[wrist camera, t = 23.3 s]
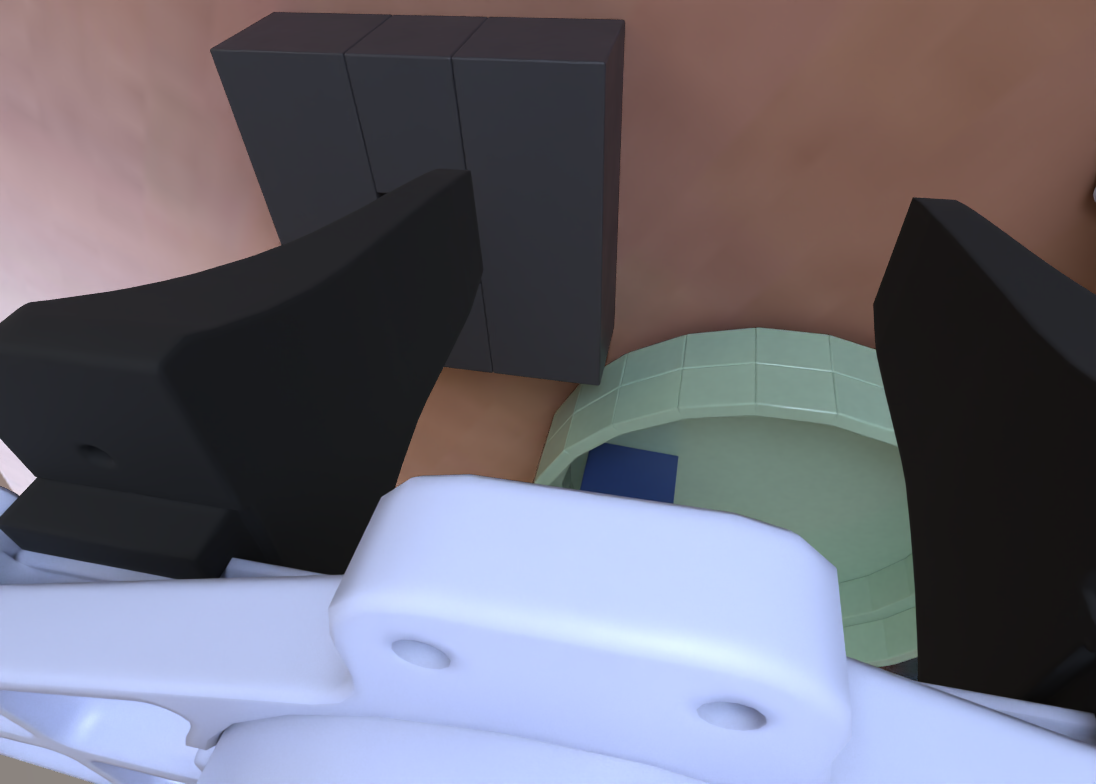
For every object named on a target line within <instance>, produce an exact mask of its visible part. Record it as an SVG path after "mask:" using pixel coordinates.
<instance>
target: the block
mask: <svg viewBox="0 0 1096 784" xmlns="http://www.w3.org/2000/svg"><path fill="white" fill-rule="evenodd" d="M678 458H679V457H678V456H675V455H670V454H664V453H658V452H653V451H647V450H642V449H636V448H631V447H625V446H620V445H614V444H609V443H603V444H602V445H600V446H598V447H596V448H594V449H592V450H590V451H589V453H588V457H587V461H586V466H585V470H584V474H583V478H582V483H581V487H580V490H582V491H589V492H596V493H603V494H610V495H617V496H624V497H630V498H637V499H644V500H651V501H658V502H665V503H672V504H673V503H674V494H675V485H676V476H677V467H678Z"/></svg>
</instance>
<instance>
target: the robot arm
mask: <svg viewBox="0 0 1096 784" xmlns="http://www.w3.org/2000/svg"><path fill="white" fill-rule="evenodd" d="M1093 197H1094V201H1095V202H1096V187H1095V190H1094V193H1093ZM483 270H484V269H483V261H482V253H481V246H480V238H479V230H478V222H477V215H476V207H475V199H474V191H473V183H472V176H471V170H456V169H439V168H438V169H435V170H432V171H430V172H427V173H425V174H423V175H421V176H419V177H417V178H415V179H413V180H411V181H409V182H407V183H405V184H404V185H402V186H400V187H398V188H396V189H394V190H393V191H391V192H389V193H387V194H385V195H384V196H382V197H380V198H378V199H376V200H374V201H373V202H371V203H369V204H367V205H365V206H363V207H362V208H360V209H358V210H356V211H354V212H352V213H350V214H348V215H346V216H344V217H342V218H340V219H338V220H336V221H334V222H332V223H330V224H328V225H326V226H324V227H322V228H320V229H318V230H316V231H314V232H312V233H310V234H307V235H305V236H303V237H301V238H298V239H296V240H293V241H291V242H289V243H286V244H284V245H281V246H278V247H276V248H273V249H271V250H268V251H265V252H263V253H260V254H257V255H254V256H251V257H249V258H245V259H242V260H239V261H235V262H232V263H229V264H225V265H222V266H218V267H215V268H212V269H208V270H205V271H202V272H198V273H195V274H191V275H187V276H183V277H178V278H174V279H170V280H166V281H161V282H157V283H152V284H147V285H142V286H137V287H132V288H127V289H121V290H115V291H110V292H103V293H96V294H89V295H82V296H75V297H68V298H61V299H54V300H46V301H37V302H30V303H27V304H25V305H23V306H22V307H20V308H19V309H17V310H16V311H15V312H13V313H12V314H11V315H10V316H8V317H7V318H6V319H5V320H3V321H2V322H1V323H0V439H1V440H2V441H3V442H4V443H5V444H6V445H7V446H8V448H9V449H10V450H11V451H12V452H13V453H14V454H15V455H16V456H17V457H18V458H19V459H20V461H21V462H22V463H23V464H24V465H25V466H26V467H27V468H28V469H29V470H30V471H31V472H32V474H33V475H34V476H35V477H37V478H36V479H35V480H34V481H33V483H32V484H31V485H30V486H29V487H28V488H27V489H26V490H25V491H24V492H23V493H22V494H21V495H20V496H19V495H18V494H16V493H14V492H12V491H10V490H8V489H6V488H4V487H2V486H0V754H1V755H4V756H8V757H11V758H14V759H18V760H21V761H24V762H28V763H31V764H34V765H37V766H40V767H43V768H47V769H50V770H53V771H57V772H60V773H63V774H66V775H69V776H73V777H76V778H79V779H82V780H85V781H88V782H91V783H95V784H1096V295H1095V294H1094V293H1092V292H1090V291H1089V290H1087V289H1086V288H1084V287H1082V286H1081V285H1079V284H1078V283H1076V282H1074V281H1073V280H1071V279H1070V278H1068V277H1067V276H1065V275H1064V274H1062V273H1061V272H1059V271H1058V270H1056V269H1055V268H1054V267H1052V266H1051V265H1049V264H1048V263H1046V262H1045V261H1043V260H1042V259H1041V258H1039V257H1038V256H1036V255H1035V254H1034V253H1032V252H1031V251H1029V250H1028V249H1027V248H1025V247H1024V246H1023V245H1021V244H1020V243H1018V242H1017V241H1016V240H1014V239H1013V238H1012V237H1010V236H1009V235H1007V234H1006V233H1005V232H1003V231H1002V230H1001V229H999V228H998V227H997V226H995V225H994V224H992V223H991V222H990V221H988V220H987V219H985V218H984V217H983V216H981V215H980V214H978V213H977V212H975V211H974V210H972V209H971V208H969V207H968V206H966V205H964V204H962V203H960V202H958V201H957V200H946V199H930V198H914V197H913V199H912V201H911V204H910V207H909V209H908V212H907V215H906V218H905V220H904V223H903V226H902V228H901V231H900V234H899V236H898V239H897V242H896V244H895V247H894V250H893V253H892V255H891V258H890V261H889V263H888V266H887V269H886V271H885V274H884V277H883V279H882V282H881V285H880V288H879V290H878V293H877V296H876V298H875V301H874V304H873V307H874V329H875V343H876V355H877V359H878V364H879V369H880V373H881V377H882V382H883V386H884V391H885V395H886V399H887V403H888V407H889V411H890V416H891V420H892V424H893V428H894V432H895V437H896V441H897V445H898V449H899V453H900V458H901V462H902V467H903V473H904V479H905V484H906V493H907V503H908V513H909V523H910V532H911V545H912V558H913V572H914V586H915V605H916V628H917V652H918V681H914V680H911V679H908V678H905V677H903V676H900V675H897V674H894V673H892V672H889V671H886V670H883V669H881V668H878V667H875V666H872V665H870V664H867V663H864V662H861V661H859V660H856V659H853V658H850V657H848V656H846V651H845V642H844V632H843V623H842V613H841V604H840V594H839V584H838V575H837V568H836V567H835V566H834V565H833V564H831V563H830V562H829V561H828V560H827V559H826V558H825V557H823V556H822V555H821V554H820V553H819V552H818V551H817V550H815V549H814V548H813V547H812V546H811V545H810V544H809V543H807V542H806V541H805V540H804V539H803V538H802V537H801V536H799V535H798V534H796V533H794V532H792V531H791V530H788V529H785V528H782V527H779V526H775V525H772V524H769V523H766V522H762V521H759V520H756V519H753V518H750V517H746V516H743V515H740V514H737V513H733V512H727V511H720V510H713V509H706V508H699V507H692V506H685V505H679V504H672V503H665V502H658V501H651V500H644V499H637V498H630V497H624V496H617V495H610V494H603V493H596V492H589V491H582V490H576V489H569V488H562V487H555V486H548V485H541V484H534V483H528V482H521V481H514V480H507V479H500V478H493V477H486V476H480V475H473V474H460V475H428V476H418V477H412V478H410V479H409V480H407V481H406V482H404V483H402V484H401V485H399V486H398V487H396V488H395V486H396V483H397V479H398V476H399V473H400V470H401V467H402V464H403V461H404V458H405V455H406V453H407V450H408V447H409V444H410V441H411V439H412V436H413V433H414V430H415V427H416V424H417V422H418V419H419V417H420V415H421V412H422V410H423V408H424V406H425V403H426V401H427V399H428V397H429V395H430V393H431V391H432V389H433V387H434V385H435V383H436V381H437V379H438V377H439V375H440V373H441V371H442V369H443V367H444V365H445V363H446V361H447V359H448V357H449V355H450V353H451V351H452V349H453V347H454V345H455V343H456V341H457V339H458V337H459V335H460V333H461V331H462V329H463V327H464V325H465V323H466V320H467V318H468V316H469V314H470V312H471V309H472V306H473V303H474V300H475V297H476V293H477V290H478V287H479V283H480V280H481V277H482V273H483Z"/></svg>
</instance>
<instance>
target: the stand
mask: <svg viewBox="0 0 1096 784" xmlns="http://www.w3.org/2000/svg"><path fill="white" fill-rule="evenodd" d="M624 38H625V21H624V20H611V19H564V18H517V17H489V18H487V17H466V16H419V15H393V16H392V15H382V14H334V13H287V12H273V13H271V14H270V15H268V16H266V17H264V18H263V19H261V20H259V21H258V22H256V23H254V24H253V25H251V26H249V27H247V28H246V29H244V30H242V31H241V32H239V33H237V34H235V35H234V36H232V37H230V38H229V39H227V40H225V41H223V42H222V43H220V44H218V45H217V46H215V47H213V48H211V49H210V52H211V54H212V57H213V60H214V63H215V65H216V68H217V71H218V73H219V76H220V79H221V82H222V84H223V87H224V90H225V92H226V95H227V98H228V101H229V103H230V106H231V109H232V111H233V114H234V117H235V120H236V122H237V125H238V128H239V130H240V133H241V136H242V139H243V141H244V144H245V147H246V149H247V152H248V155H249V158H250V160H251V163H252V166H253V168H254V171H255V174H256V177H257V179H258V182H259V185H260V187H261V190H262V193H263V196H264V198H265V201H266V204H267V206H268V209H269V212H270V215H271V217H272V220H273V223H274V225H275V228H276V231H277V234H278V236H279V239H280V242H281V245H284V244H286V243H289V242H291V241H293V240H296V239H298V238H301V237H303V236H305V235H307V234H310V233H312V232H314V231H316V230H318V229H320V228H322V227H324V226H326V225H328V224H330V223H332V222H334V221H336V220H338V219H340V218H342V217H344V216H346V215H348V214H350V213H352V212H354V211H356V210H358V209H360V208H362V207H363V206H365V205H367V204H369V203H371V202H373V201H374V200H376V199H378V198H380V197H382V196H384V195H385V194H387V193H389V192H391V191H393V190H394V189H396V188H398V187H400V186H402V185H404V184H405V183H407V182H409V181H411V180H413V179H415V178H417V177H419V176H421V175H423V174H425V173H427V172H430V171H432V170H435V169H438V168H439V169H456V170H471V176H472V183H473V191H474V199H475V207H476V215H477V222H478V230H479V238H480V246H481V253H482V261H483V269H484V270H483V273H482V277H481V280H480V283H479V287H478V290H477V293H476V297H475V300H474V303H473V306H472V309H471V312H470V314H469V316H468V318H467V320H466V323H465V325H464V327H463V329H462V331H461V333H460V335H459V337H458V339H457V341H456V343H455V345H454V347H453V349H452V351H451V353H450V355H449V357H448V359H447V361H446V363H445V365H444V367H449V368H457V369H466V370H474V371H482V372H490V373H492V372H494V373H499V374H507V375H515V376H523V377H531V378H539V379H547V380H555V381H564V382H572V383H580V384H588V385H596V386H599V385H600V383H601V378H602V374H603V370H604V366H605V362H606V358H607V353H608V349H609V345H610V341H611V337H612V333H613V329H614V315H615V287H616V260H617V232H618V204H619V176H620V149H621V121H622V93H623V65H624Z"/></svg>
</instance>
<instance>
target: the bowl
mask: <svg viewBox="0 0 1096 784" xmlns="http://www.w3.org/2000/svg"><path fill="white" fill-rule="evenodd" d="M603 443H609V444H614V445H620V446H625V447H631V448H636V449H642V450H647V451H653V452H658V453H664V454H670V455H675V456H678V457H679V458H678V467H677V476H676V485H675V494H674V503H673V504H679V505H685V506H692V507H699V508H706V509H713V510H720V511H727V512H733V513H737V514H740V515H743V516H746V517H750V518H753V519H756V520H759V521H762V522H766V523H769V524H772V525H775V526H779V527H782V528H785V529H788V530H791V531H792V532H794V533H796V534H798V535H799V536H801V537H802V538H803V539H804V540H805V541H806V542H807V543H809V544H810V545H811V546H812V547H813V548H814V549H815V550H817V551H818V552H819V553H820V554H821V555H822V556H823V557H825V558H826V559H827V560H828V561H829V562H830V563H831V564H833V565H834V566H835V567H836V568H837V575H838V584H839V594H840V604H841V613H842V623H843V632H844V642H845V651H846V656H848V657H850V658H853V659H856V660H859V661H861V662H864V663H867V664H870V665H872V666H875V667H882V666H888V665H894V664H896V663H901V662H904V661H907V660H910V659H913V658H915V657H918V652H917V628H916V605H915V586H914V572H913V558H912V545H911V532H910V523H909V513H908V503H907V493H906V484H905V479H904V473H903V467H902V462H901V458H900V453H899V449H898V445H897V441H896V437H895V432H894V428H893V424H892V420H891V416H890V411H889V407H888V403H887V399H886V395H885V391H884V386H883V382H882V377H881V373H880V369H879V364H878V359H877V355H876V350H875V349H872V348H869V347H866V346H863V345H860V344H857V343H853V342H850V341H847V340H844V339H841V338H838V337H835V336H832V335H829V336H828V335H827V334H818V333H809V332H799V331H789V330H779V329H770V328H760V327H756V329H755V328H744V329H734V330H724V331H713V332H703V333H692V334H687V336H686V335H682V336H679V337H676V338H673V339H670V340H666V341H663V342H660V343H657V344H654V345H651V346H647V347H644V348H641V349H638V350H635V351H632V352H629V353H628V354H624V355H623V356H621V357H620V358H618V359H616V360H615V361H613V362H612V363H610V364H608V365H607V366H605V367H604V370H603V374H602V378H601V383H600V385H599V386H596V385H588V384H579V385H578V386H577V388H576V389H575V390H574V391H573V392H572V393H571V395H570V396H569V397H568V398H567V399H566V400H565V402H564V403H563V404H562V405H561V406H560V407H559V409H558V410H557V411H556V413H555V414H554V417H553V420H552V423H551V426H550V428H549V431H548V434H547V437H546V440H545V443H544V446H543V449H542V452H541V456H540V459H539V463H538V466H537V469H536V473H535V476H534V479H533V482H532V483H534V484H541V485H548V486H555V487H562V488H569V489H576V490H580V487H581V483H582V478H583V474H584V470H585V466H586V461H587V457H588V453H589V451H590V450H592V449H594V448H596V447H598V446H600V445H602V444H603Z"/></svg>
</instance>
